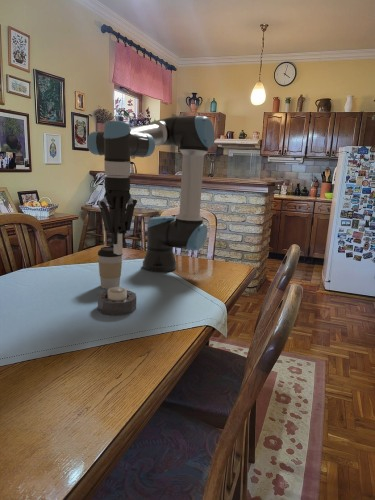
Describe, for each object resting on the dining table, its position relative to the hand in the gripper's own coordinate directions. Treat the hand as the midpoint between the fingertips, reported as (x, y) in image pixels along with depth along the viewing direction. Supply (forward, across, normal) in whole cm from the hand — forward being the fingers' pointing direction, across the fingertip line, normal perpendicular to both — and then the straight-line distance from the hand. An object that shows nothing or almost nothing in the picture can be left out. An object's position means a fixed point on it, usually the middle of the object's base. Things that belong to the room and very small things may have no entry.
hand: (117, 253), depth 111 cm
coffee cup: (+18, -8, -19) cm, 28 cm away
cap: (+18, 0, 0) cm, 18 cm away
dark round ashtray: (+18, +1, 0) cm, 18 cm away
